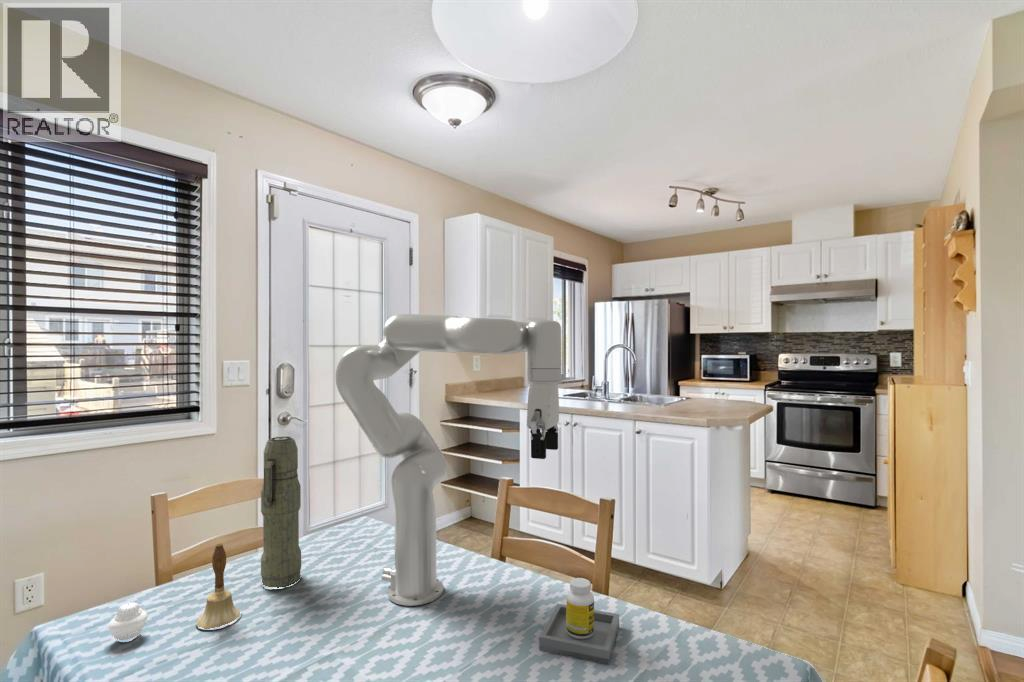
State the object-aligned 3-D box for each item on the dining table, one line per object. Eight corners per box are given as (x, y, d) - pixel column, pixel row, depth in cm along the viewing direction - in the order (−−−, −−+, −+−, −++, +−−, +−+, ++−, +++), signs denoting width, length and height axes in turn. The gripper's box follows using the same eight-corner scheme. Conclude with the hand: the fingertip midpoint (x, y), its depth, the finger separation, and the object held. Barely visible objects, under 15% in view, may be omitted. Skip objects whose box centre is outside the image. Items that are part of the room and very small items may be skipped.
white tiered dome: (114, 634, 101) (114, 599, 101) (151, 627, 104) (151, 593, 104) (103, 651, 96) (103, 614, 96) (142, 643, 98) (142, 607, 98)
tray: (539, 650, 95) (539, 636, 95) (557, 615, 107) (557, 603, 107) (608, 664, 91) (608, 650, 91) (619, 626, 103) (619, 614, 103)
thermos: (309, 570, 129) (308, 433, 130) (289, 593, 118) (288, 442, 118) (274, 570, 129) (274, 434, 130) (251, 593, 118) (250, 443, 118)
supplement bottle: (593, 642, 96) (593, 590, 96) (564, 638, 97) (564, 587, 97) (594, 626, 101) (594, 577, 101) (567, 623, 102) (567, 574, 102)
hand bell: (250, 615, 108) (250, 540, 108) (213, 635, 101) (213, 555, 101) (224, 606, 112) (224, 534, 112) (186, 626, 104) (186, 548, 104)
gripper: (539, 373, 122) (540, 445, 121) (515, 378, 105) (515, 461, 105) (570, 374, 119) (570, 447, 119) (550, 379, 103) (550, 463, 103)
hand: (545, 453), depth 112 cm, fingers open, 9 cm apart
